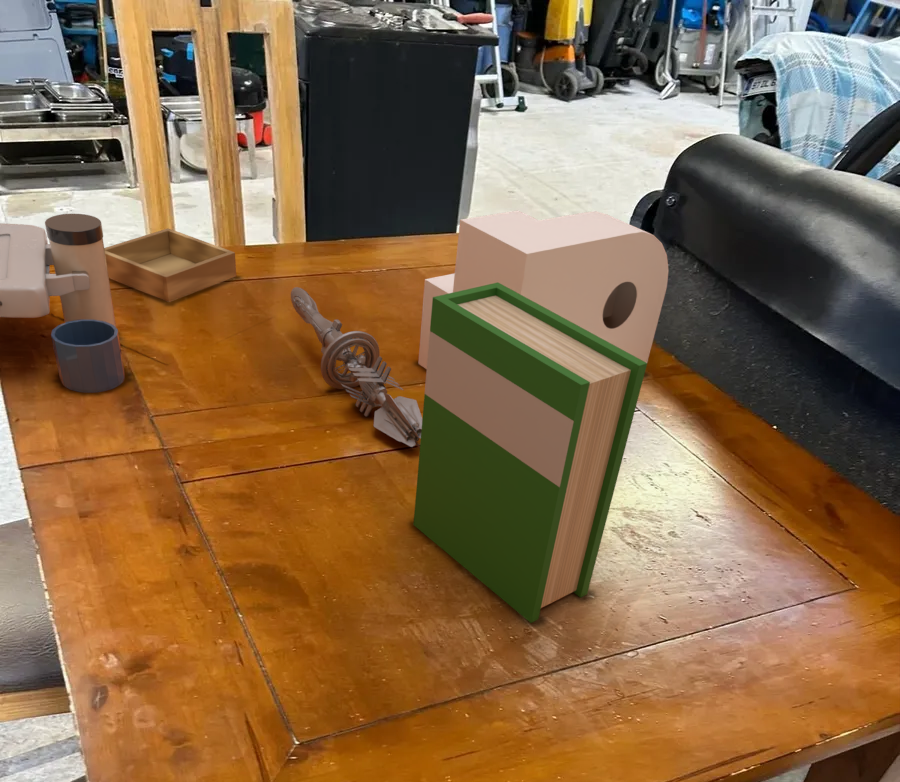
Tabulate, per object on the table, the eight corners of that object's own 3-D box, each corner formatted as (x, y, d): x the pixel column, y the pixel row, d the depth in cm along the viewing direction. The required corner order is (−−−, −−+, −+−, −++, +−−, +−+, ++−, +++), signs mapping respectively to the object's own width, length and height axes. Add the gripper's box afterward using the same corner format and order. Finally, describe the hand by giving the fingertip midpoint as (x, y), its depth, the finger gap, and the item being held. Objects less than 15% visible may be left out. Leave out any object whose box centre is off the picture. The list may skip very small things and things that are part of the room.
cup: (48, 380, 105) (37, 332, 101) (96, 360, 110) (88, 313, 106) (90, 400, 103) (80, 352, 99) (137, 379, 108) (131, 332, 104)
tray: (101, 278, 129) (96, 250, 126) (170, 254, 138) (168, 228, 135) (169, 306, 124) (166, 277, 121) (236, 279, 133) (235, 252, 130)
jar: (55, 334, 112) (33, 221, 103) (95, 320, 116) (76, 209, 107) (89, 350, 110) (69, 235, 101) (128, 335, 114) (112, 223, 105)
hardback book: (586, 596, 84) (647, 363, 69) (530, 624, 81) (581, 385, 65) (468, 504, 94) (497, 282, 78) (413, 526, 90) (432, 297, 75)
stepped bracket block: (558, 328, 131) (585, 181, 118) (643, 376, 122) (683, 223, 108) (418, 364, 118) (430, 204, 104) (501, 422, 108) (526, 253, 95)
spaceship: (327, 270, 118) (276, 255, 113) (461, 417, 99) (407, 406, 94) (305, 323, 122) (254, 310, 117) (429, 474, 103) (376, 467, 98)
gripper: (-52, 279, 95) (86, 275, 99) (-39, 214, 109) (82, 213, 113) (-37, 334, 99) (95, 329, 103) (-26, 265, 113) (90, 263, 117)
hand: (88, 268), depth 108 cm, fingers closed on jar, 6 cm apart
